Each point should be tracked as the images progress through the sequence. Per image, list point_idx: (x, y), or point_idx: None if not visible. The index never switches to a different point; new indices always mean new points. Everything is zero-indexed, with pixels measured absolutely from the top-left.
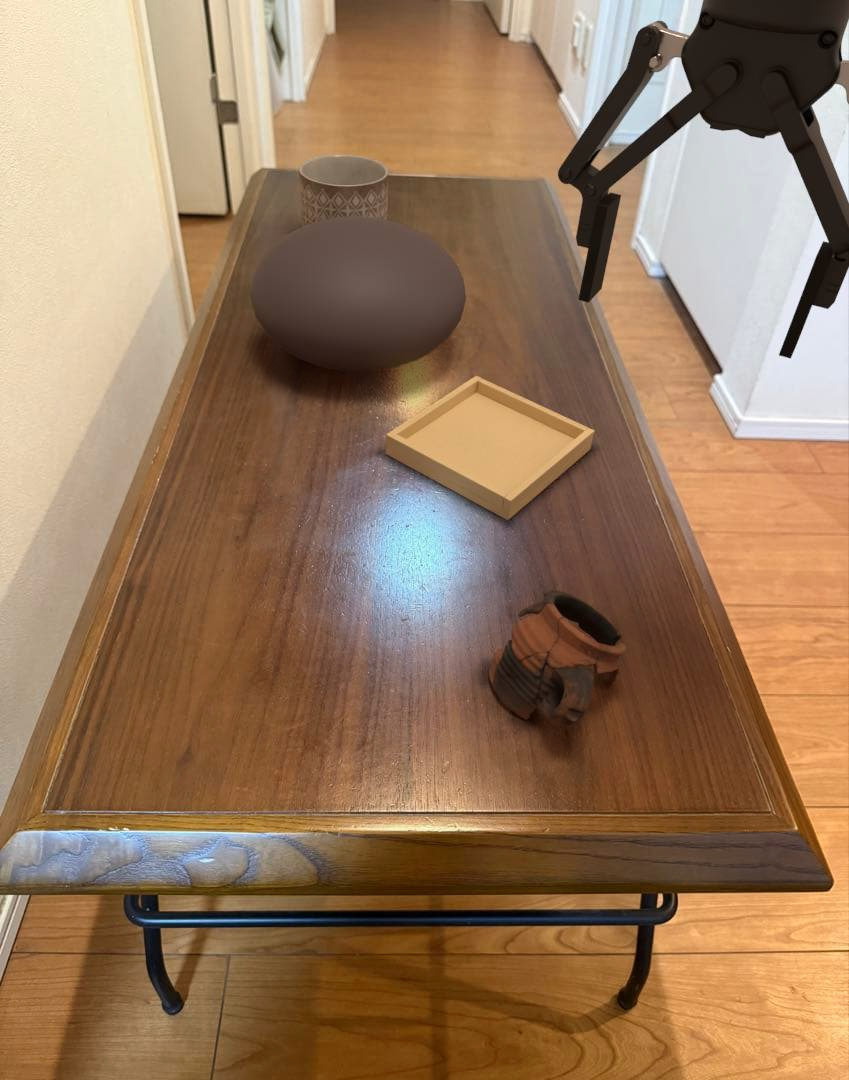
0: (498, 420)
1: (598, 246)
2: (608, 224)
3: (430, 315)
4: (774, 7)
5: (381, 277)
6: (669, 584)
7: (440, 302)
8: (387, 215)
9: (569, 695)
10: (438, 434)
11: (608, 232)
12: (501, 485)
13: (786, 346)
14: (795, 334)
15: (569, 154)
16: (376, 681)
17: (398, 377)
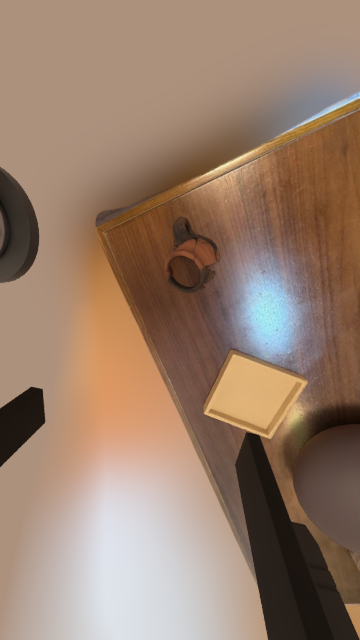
0: (250, 411)
1: (275, 524)
2: (278, 590)
3: (318, 470)
4: None
5: None
6: (156, 333)
7: (316, 483)
8: (357, 566)
9: (182, 221)
10: (278, 393)
11: (267, 565)
12: (239, 367)
13: (28, 395)
14: (9, 406)
15: None
16: (267, 231)
17: (308, 432)
